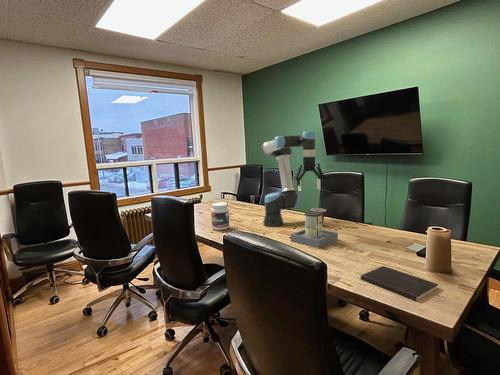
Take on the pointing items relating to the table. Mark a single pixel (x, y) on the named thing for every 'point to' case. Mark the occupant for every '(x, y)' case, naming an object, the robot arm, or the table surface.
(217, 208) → the supplement tub
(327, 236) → the grey square tray
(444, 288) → the table surface
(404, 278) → the hardcover book
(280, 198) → the robot arm
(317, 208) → the plastic cup
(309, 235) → the coffee can
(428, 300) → the table surface
